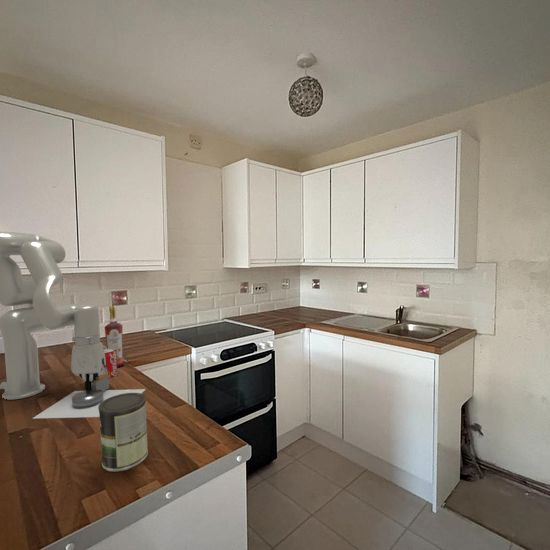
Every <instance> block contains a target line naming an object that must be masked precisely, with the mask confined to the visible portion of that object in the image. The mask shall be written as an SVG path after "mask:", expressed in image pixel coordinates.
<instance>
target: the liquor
mask: <svg viewBox="0 0 550 550" xmlns="http://www.w3.org/2000/svg"><path fill="white" fill-rule="evenodd" d="M116 311H117V306H116V305H109V323H108V324H106V325H105V326H104V334H105V343H106V349H114V351H115V353H116V359H117V367H118V368H120V367H121V366H122V365H124V363H125V362H124V361H123V360H124V359H123V357H124V356H123V339H124V338H123V337H124V336H123V335H124V334H123V324H121V323H120V322H118V320H117V313H116ZM119 366H120V367H119Z"/></svg>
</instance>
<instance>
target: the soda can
mask: <svg viewBox="0 0 550 550" xmlns="http://www.w3.org/2000/svg"><path fill="white" fill-rule="evenodd" d="M104 353H105V361H106V367H105V374H109V379H111V378H114V377H116V376H118V368H117V359H116V353H115V351H114V349H107V348H104ZM103 375H104V374H103ZM101 376H102V375H100V376H98V377H97V379H98V378H99V377H101Z"/></svg>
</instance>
